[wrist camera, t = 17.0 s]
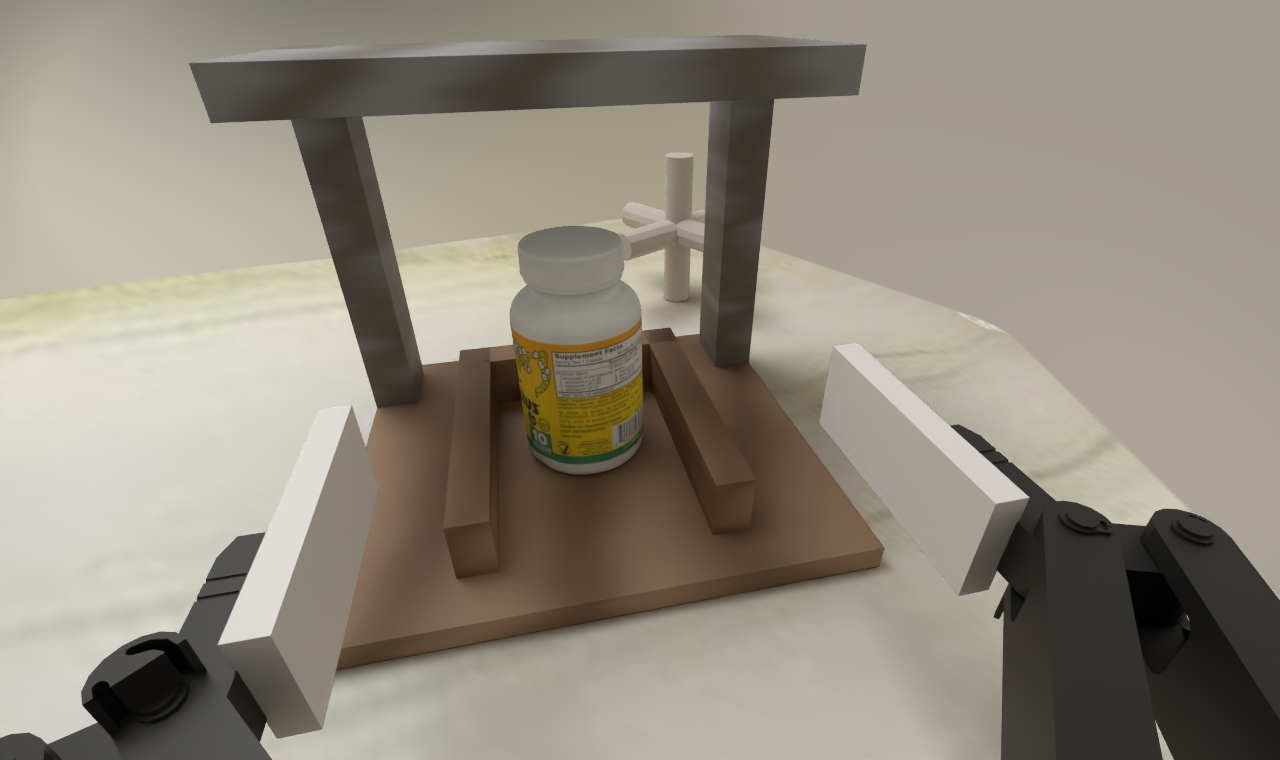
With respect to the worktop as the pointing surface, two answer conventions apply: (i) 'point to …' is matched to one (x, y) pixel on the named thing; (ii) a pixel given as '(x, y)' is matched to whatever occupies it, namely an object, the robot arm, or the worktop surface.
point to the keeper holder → (488, 377)
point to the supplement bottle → (578, 350)
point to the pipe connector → (668, 227)
